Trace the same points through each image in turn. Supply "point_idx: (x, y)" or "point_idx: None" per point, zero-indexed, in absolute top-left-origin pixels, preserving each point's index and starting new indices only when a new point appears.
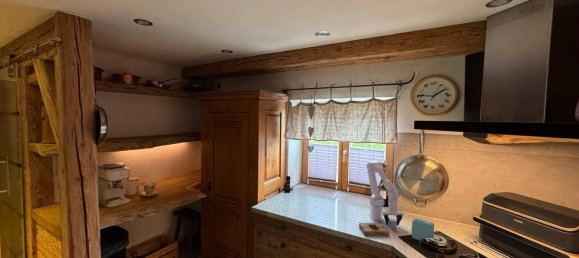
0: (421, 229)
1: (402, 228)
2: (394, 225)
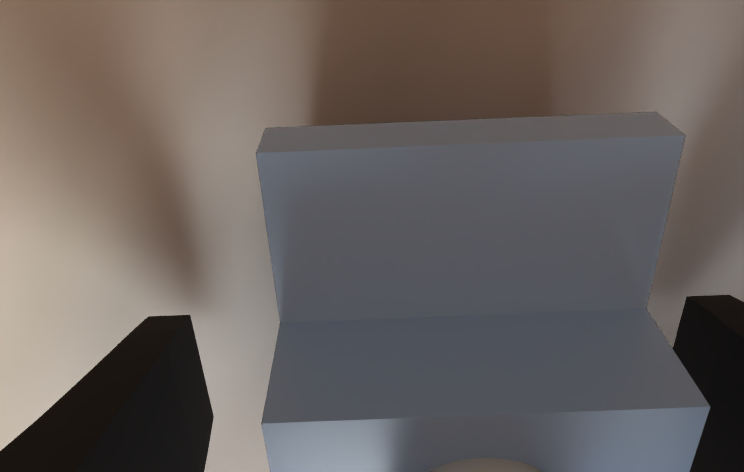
0: None
1: (9, 208)
2: (513, 126)
